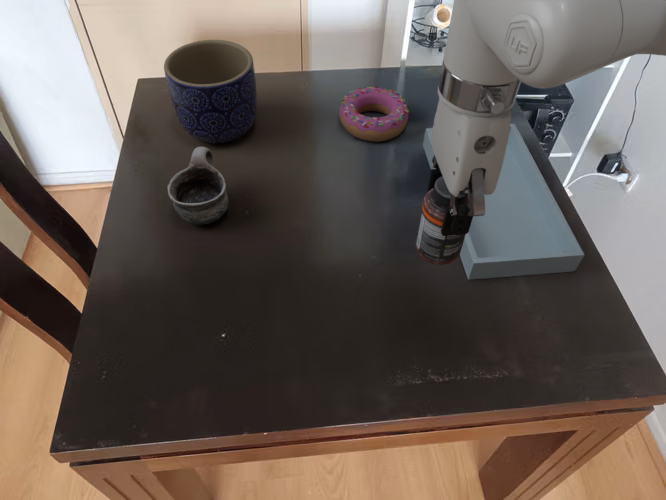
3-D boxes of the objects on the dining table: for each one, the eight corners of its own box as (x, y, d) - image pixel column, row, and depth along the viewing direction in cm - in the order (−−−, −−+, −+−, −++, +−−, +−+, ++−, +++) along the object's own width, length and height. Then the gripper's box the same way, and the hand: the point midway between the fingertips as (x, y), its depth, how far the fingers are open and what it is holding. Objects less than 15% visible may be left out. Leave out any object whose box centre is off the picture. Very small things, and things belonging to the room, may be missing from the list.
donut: (360, 153, 106) (361, 132, 103) (327, 114, 114) (327, 93, 111) (420, 133, 111) (424, 112, 107) (384, 97, 119) (386, 76, 115)
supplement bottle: (435, 226, 73) (450, 161, 65) (469, 251, 70) (489, 187, 62) (404, 247, 71) (416, 183, 62) (438, 274, 68) (455, 211, 59)
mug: (173, 235, 92) (159, 193, 84) (178, 185, 100) (166, 142, 92) (230, 231, 92) (222, 189, 85) (231, 182, 100) (223, 139, 93)
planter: (240, 160, 104) (230, 94, 93) (164, 143, 107) (145, 76, 96) (272, 112, 115) (267, 47, 103) (202, 97, 118) (189, 32, 106)
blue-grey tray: (574, 271, 88) (584, 254, 85) (468, 280, 86) (473, 263, 83) (508, 140, 110) (514, 123, 106) (422, 145, 108) (425, 128, 105)
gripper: (551, 134, 46) (499, 265, 60) (488, 34, 57) (457, 164, 71) (466, 140, 46) (433, 271, 59) (420, 38, 57) (401, 168, 70)
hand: (446, 212), depth 65 cm, fingers closed on supplement bottle, 6 cm apart
